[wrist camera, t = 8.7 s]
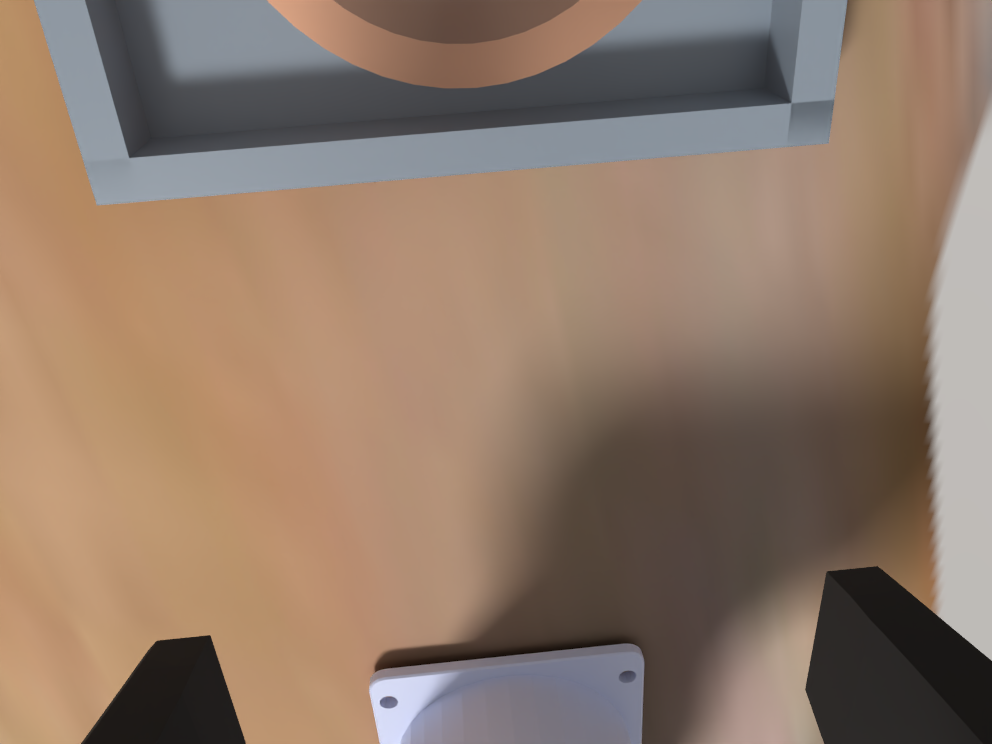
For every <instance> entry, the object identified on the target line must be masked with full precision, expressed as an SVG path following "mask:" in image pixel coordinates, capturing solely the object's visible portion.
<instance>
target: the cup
mask: <svg viewBox="0 0 992 744" xmlns="http://www.w3.org/2000/svg"><path fill="white" fill-rule="evenodd" d="M267 1H268V2H269V3H270V4H271V5H272V6H273V7H274V8H275V9H276V10H277V11H278V12H279V13H281V14H282V15H283V16H284V17H285V18H286V19H287V20H288V21H289V22H290V23H291V24H292V25H293V26H294V27H296V28H297V29H298V30H300V31H301V32H302V33H304V34H305V35H306V36H308V37H309V38H310V39H312V40H313V41H315V42H316V43H317V44H319V45H320V46H321V47H323V48H324V49H326V50H328V51H330V52H331V53H333V54H335V55H337V56H339V57H340V58H342V59H344V60H346V61H348V62H349V63H351V64H353V65H355V66H358V67H360V68H363V69H365V70H368V71H370V72H373V73H375V74H378V75H380V76H383V77H386V78H390V79H394V80H398V81H402V82H406V83H410V84H413V85H421V86H429V87H438V88H479V87H485V86H492V85H498V84H505V83H509V82H513V81H516V80H519V79H523V78H526V77H530V76H533V75H536V74H539V73H541V72H543V71H546V70H548V69H550V68H552V67H554V66H557V65H559V64H561V63H563V62H566V61H567V60H569V59H571V58H572V57H574V56H576V55H577V54H579V53H580V52H582V51H584V50H585V49H587V48H589V47H590V46H592V45H593V44H595V43H596V42H597V41H598V40H600V39H601V38H602V37H603V36H605V35H606V34H607V33H608V32H610V31H611V30H612V29H613V28H615V27H616V26H617V25H618V24H620V23H621V22H622V21H623V20H624V19H625V17H626V16H627V15H628V14H629V13H630V12H631V11H632V10H633V9H634V8H635V7H636V6H637V5H638V4H639V3H640V2H641V1H642V0H267Z"/></svg>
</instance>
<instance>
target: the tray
mask: <svg viewBox="0 0 992 744" xmlns="http://www.w3.org/2000/svg"><path fill="white" fill-rule="evenodd" d="M34 2H35V5H36V9H37V12H38V15H39V18H40V22H41V25H42V28H43V31H44V35H45V38H46V41H47V44H48V48H49V51H50V54H51V57H52V61H53V64H54V67H55V70H56V74H57V77H58V80H59V83H60V87H61V90H62V93H63V96H64V100H65V103H66V106H67V109H68V113H69V116H70V119H71V122H72V126H73V129H74V132H75V135H76V139H77V142H78V145H79V148H80V152H81V155H82V158H83V161H84V165H85V168H86V171H87V174H88V178H89V181H90V184H91V187H92V191H93V194H94V197H95V200H96V204H97V205H107V204H119V203H131V202H143V201H154V200H166V199H178V198H190V197H202V196H213V195H225V194H237V193H249V192H261V191H273V190H284V189H296V188H308V187H320V186H332V185H343V184H355V183H367V182H379V181H391V180H402V179H414V178H426V177H438V176H450V175H461V174H473V173H485V172H497V171H509V170H520V169H532V168H544V167H556V166H568V165H579V164H591V163H603V162H615V161H627V160H638V159H650V158H662V157H674V156H686V155H698V154H709V153H721V152H733V151H745V150H757V149H768V148H780V147H792V146H804V145H816V144H827V143H829V136H830V129H831V121H832V114H833V106H834V98H835V91H836V83H837V76H838V68H839V60H840V53H841V45H842V38H843V30H844V22H845V15H846V7H847V0H642V1H641V2H640V3H639V4H638V5H637V6H636V7H635V8H634V9H633V10H632V11H631V12H630V13H629V14H628V15H627V16H626V17H625V19H624V20H623V21H622V22H621V23H620V24H618V25H617V26H616V27H615V28H613V29H612V30H611V31H610V32H608V33H607V34H606V35H605V36H603V37H602V38H601V39H600V40H598V41H597V42H596V43H595V44H593V45H592V46H590V47H589V48H587V49H585V50H584V51H582V52H580V53H579V54H577V55H576V56H574V57H572V58H571V59H569V60H567V61H566V62H563V63H561V64H559V65H557V66H554V67H552V68H550V69H548V70H546V71H543V72H541V73H539V74H536V75H533V76H530V77H526V78H523V79H519V80H516V81H513V82H509V83H505V84H498V85H492V86H485V87H479V88H438V87H429V86H421V85H413V84H410V83H406V82H402V81H398V80H394V79H390V78H386V77H383V76H380V75H378V74H375V73H373V72H370V71H368V70H365V69H363V68H360V67H358V66H355V65H353V64H351V63H349V62H348V61H346V60H344V59H342V58H340V57H339V56H337V55H335V54H333V53H331V52H330V51H328V50H326V49H324V48H323V47H321V46H320V45H319V44H317V43H316V42H315V41H313V40H312V39H310V38H309V37H308V36H306V35H305V34H304V33H302V32H301V31H300V30H298V29H297V28H296V27H294V26H293V25H292V24H291V23H290V22H289V21H288V20H287V19H286V18H285V17H284V16H283V15H282V14H281V13H279V12H278V11H277V10H276V9H275V8H274V7H273V6H272V5H271V4H270V3H269V2H268V1H267V0H34Z"/></svg>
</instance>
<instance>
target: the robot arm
mask: <svg viewBox="0 0 992 744" xmlns="http://www.w3.org/2000/svg"><path fill="white" fill-rule="evenodd" d="M624 671H627V672H624ZM643 688H644V658H643V655H642V651H641V649H640V648H639V647H638V646H636V645H634V644H626V643H625V644H615V645H606V646H596V647H587V648H577V649H568V650H558V651H549V652H539V653H530V654H520V655H511V656H502V657H492V658H483V659H473V660H464V661H454V662H445V663H435V664H426V665H416V666H407V667H397V668H388V669H382V670H379V671H377V672H375V673H374V674H373V675H372V676H371V678H370V688H369V692H370V697H371V702H372V707H373V712H374V717H375V722H376V727H377V732H378V737H379V742H380V744H642V717H643ZM805 690H806V693H807V696H808V698H809V701H810V704H811V707H812V710H813V713H814V716H815V719H816V721H817V724H818V727H819V730H820V733H821V736H822V739H823V741H824V744H992V661H991V660H990V659H989V658H988V657H986V656H985V655H984V654H983V653H981V652H980V651H979V650H978V649H977V648H975V647H974V646H973V645H972V644H971V643H969V642H968V641H967V640H966V639H965V638H963V637H962V636H961V635H960V634H959V633H957V632H956V631H955V630H954V629H952V628H951V627H950V626H949V625H948V624H946V623H945V622H944V621H943V620H942V619H941V618H939V617H938V616H937V615H936V614H935V613H933V612H932V611H931V610H930V609H929V608H927V607H926V606H925V605H924V604H923V603H921V602H920V601H919V600H918V599H917V598H915V597H914V596H913V595H912V594H911V593H909V592H908V591H907V590H906V589H905V588H903V587H902V586H901V585H900V584H899V583H897V582H896V581H895V580H894V579H893V578H891V577H890V576H889V575H888V574H886V573H885V572H884V571H883V570H881V569H880V568H879V567H878V566H876V567H866V568H856V569H847V570H837V571H827V573H826V578H825V584H824V589H823V595H822V600H821V606H820V611H819V617H818V622H817V628H816V633H815V639H814V644H813V650H812V655H811V661H810V666H809V672H808V678H807V683H806V689H805ZM387 696H392V697H387ZM81 744H246V743H245V740H244V736H243V733H242V730H241V727H240V724H239V721H238V718H237V715H236V712H235V709H234V706H233V703H232V700H231V697H230V694H229V691H228V688H227V685H226V682H225V679H224V676H223V673H222V670H221V667H220V664H219V661H218V658H217V655H216V651H215V648H214V645H213V642H212V639H211V636H210V635H209V636H199V637H189V638H180V639H170V640H160V641H156V642H155V643H154V645H153V646H152V647H151V648H150V649H149V650H148V652H147V653H146V654H145V656H144V657H143V659H142V660H141V661H140V663H139V664H138V666H137V667H136V668H135V670H134V671H133V672H132V674H131V675H130V677H129V678H128V679H127V681H126V682H125V684H124V685H123V686H122V688H121V689H120V691H119V692H118V693H117V695H116V696H115V698H114V699H113V700H112V702H111V703H110V705H109V706H108V707H107V709H106V710H105V712H104V713H103V714H102V716H101V717H100V719H99V720H98V721H97V723H96V724H95V725H94V727H93V728H92V729H91V731H90V732H89V734H88V735H87V736H86V738H85V739H84V740H83V742H82V743H81Z"/></svg>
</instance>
